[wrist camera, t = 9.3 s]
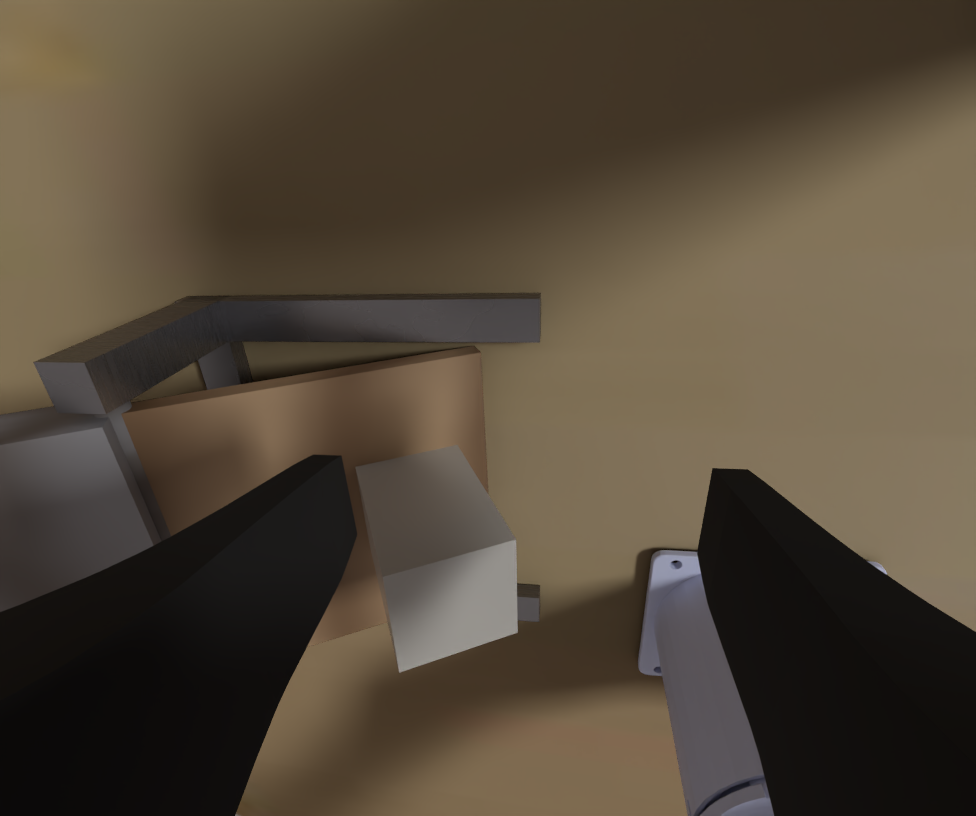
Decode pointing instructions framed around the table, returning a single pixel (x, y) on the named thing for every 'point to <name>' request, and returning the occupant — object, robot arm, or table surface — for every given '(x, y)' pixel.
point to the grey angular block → (292, 318)
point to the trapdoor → (220, 466)
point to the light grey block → (438, 555)
